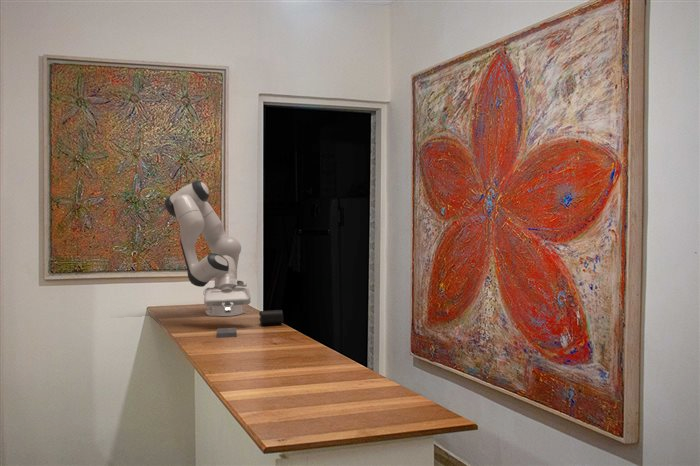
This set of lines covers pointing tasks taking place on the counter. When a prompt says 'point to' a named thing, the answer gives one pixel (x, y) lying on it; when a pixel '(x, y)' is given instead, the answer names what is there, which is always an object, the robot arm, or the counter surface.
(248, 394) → the counter surface
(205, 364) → the counter surface
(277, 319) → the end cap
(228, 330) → the slate tile
